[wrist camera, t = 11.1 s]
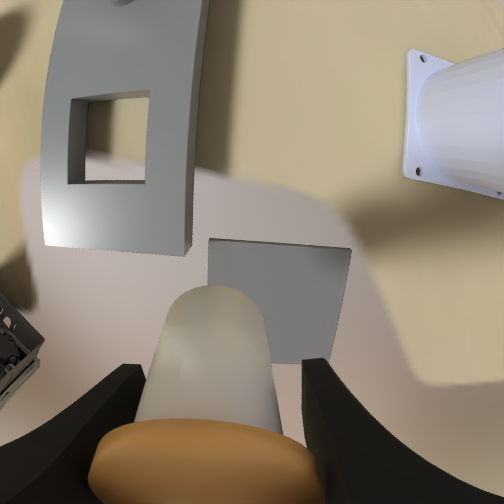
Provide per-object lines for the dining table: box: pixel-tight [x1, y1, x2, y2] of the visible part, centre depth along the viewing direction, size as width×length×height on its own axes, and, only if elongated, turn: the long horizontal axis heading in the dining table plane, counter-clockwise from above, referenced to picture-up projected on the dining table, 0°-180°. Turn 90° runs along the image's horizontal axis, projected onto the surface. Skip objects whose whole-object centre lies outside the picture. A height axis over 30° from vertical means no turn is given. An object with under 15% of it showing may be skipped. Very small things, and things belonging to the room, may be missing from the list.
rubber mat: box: [208, 238, 352, 364], centre depth 18 cm, size 8×8×1 cm
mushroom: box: [88, 285, 325, 504], centre depth 8 cm, size 5×5×7 cm
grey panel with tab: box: [40, 0, 210, 257], centre depth 11 cm, size 9×20×7 cm, turn 176°
